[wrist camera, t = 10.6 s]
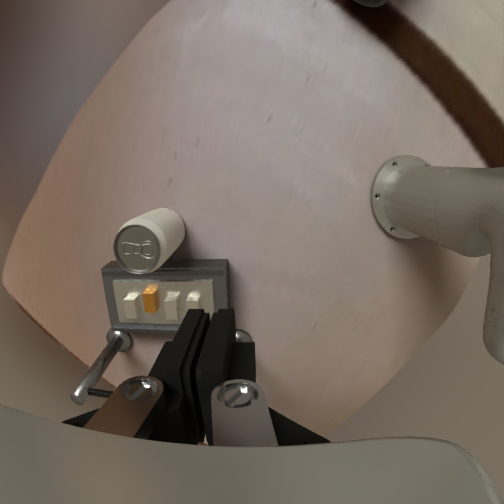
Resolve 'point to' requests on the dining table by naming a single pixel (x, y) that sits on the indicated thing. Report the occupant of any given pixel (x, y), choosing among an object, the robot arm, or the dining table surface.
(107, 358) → the cord stand
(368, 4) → the bluetooth speaker
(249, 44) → the dining table surface
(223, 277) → the breaker panel
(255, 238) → the dining table surface
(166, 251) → the can
